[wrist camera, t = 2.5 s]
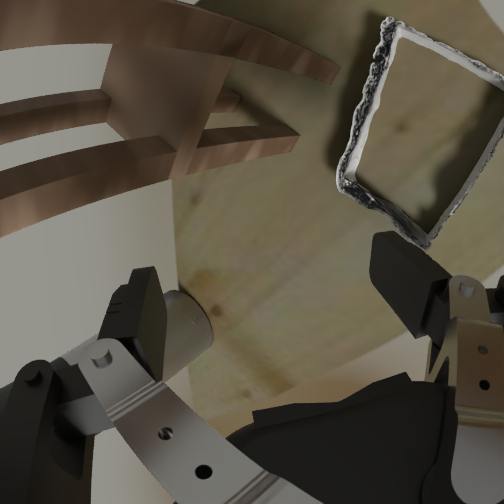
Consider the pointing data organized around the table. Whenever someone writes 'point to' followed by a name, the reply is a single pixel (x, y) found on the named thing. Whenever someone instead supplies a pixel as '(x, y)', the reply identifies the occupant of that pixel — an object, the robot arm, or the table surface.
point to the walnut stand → (137, 99)
